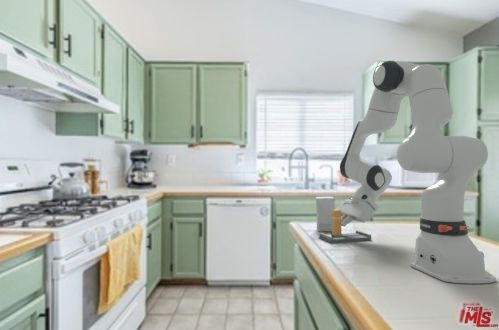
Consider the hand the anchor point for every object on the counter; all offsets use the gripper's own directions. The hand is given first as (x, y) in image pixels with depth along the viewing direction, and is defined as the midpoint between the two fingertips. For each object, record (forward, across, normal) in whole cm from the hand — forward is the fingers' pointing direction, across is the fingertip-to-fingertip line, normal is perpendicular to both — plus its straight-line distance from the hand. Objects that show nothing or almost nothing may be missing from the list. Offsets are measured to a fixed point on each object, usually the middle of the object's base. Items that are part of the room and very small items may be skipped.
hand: (341, 225), depth 143 cm
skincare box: (+2, -19, +6) cm, 20 cm away
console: (+3, 0, +5) cm, 6 cm away
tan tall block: (+5, 0, +2) cm, 5 cm away
